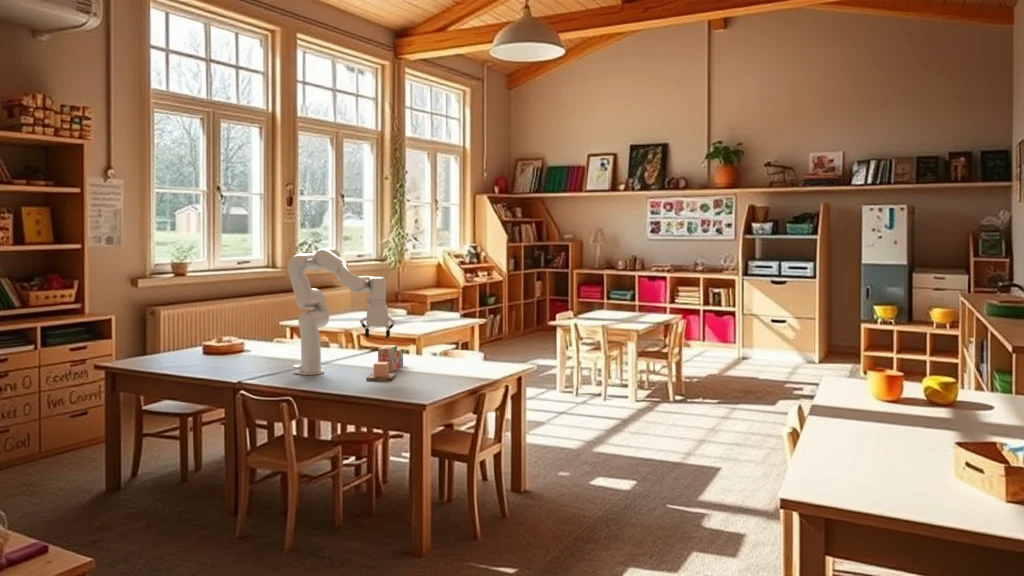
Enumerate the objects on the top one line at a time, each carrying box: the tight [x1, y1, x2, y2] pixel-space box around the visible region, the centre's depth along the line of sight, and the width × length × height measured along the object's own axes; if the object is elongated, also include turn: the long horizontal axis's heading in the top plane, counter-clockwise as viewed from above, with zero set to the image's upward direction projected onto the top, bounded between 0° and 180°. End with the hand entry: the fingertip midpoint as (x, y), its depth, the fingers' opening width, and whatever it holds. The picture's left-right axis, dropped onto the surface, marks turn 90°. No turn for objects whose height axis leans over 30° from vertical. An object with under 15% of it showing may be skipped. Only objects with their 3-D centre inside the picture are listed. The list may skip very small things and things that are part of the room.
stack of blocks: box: [377, 344, 404, 373], centre depth 424 cm, size 21×6×12 cm, turn 169°
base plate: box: [365, 372, 397, 382], centre depth 397 cm, size 12×12×6 cm
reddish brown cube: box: [373, 361, 389, 377], centre depth 397 cm, size 6×6×6 cm
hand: (377, 337), depth 398 cm, fingers open, 9 cm apart
